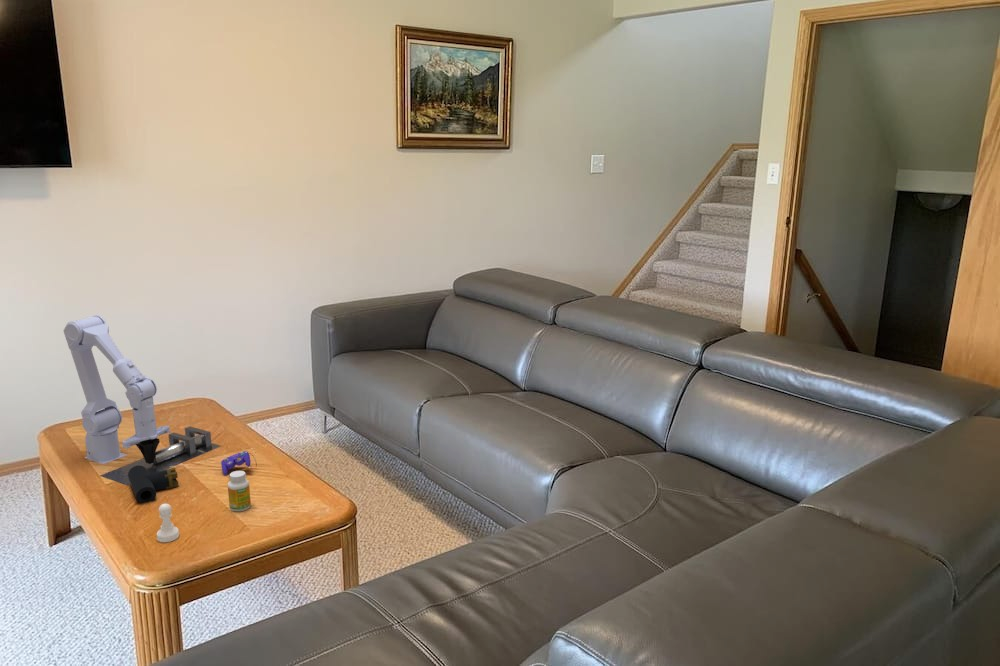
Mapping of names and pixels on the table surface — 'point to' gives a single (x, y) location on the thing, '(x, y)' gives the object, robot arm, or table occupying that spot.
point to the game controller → (235, 461)
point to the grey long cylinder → (174, 450)
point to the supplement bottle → (239, 491)
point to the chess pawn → (166, 525)
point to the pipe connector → (150, 482)
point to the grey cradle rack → (191, 452)
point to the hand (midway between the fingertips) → (149, 462)
